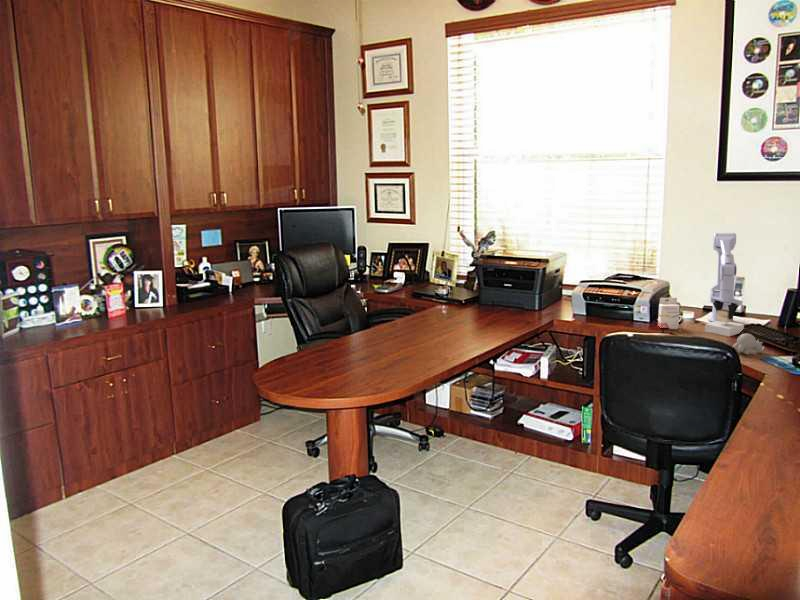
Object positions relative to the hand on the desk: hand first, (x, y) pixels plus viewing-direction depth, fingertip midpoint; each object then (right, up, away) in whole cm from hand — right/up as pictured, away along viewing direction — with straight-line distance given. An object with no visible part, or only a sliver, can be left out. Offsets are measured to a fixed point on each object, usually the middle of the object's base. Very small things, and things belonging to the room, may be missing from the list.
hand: (725, 317), depth 314 cm
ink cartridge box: (-22, -5, +12) cm, 26 cm away
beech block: (0, -1, 0) cm, 2 cm away
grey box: (0, -7, +2) cm, 7 cm away
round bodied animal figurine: (-5, -14, -32) cm, 35 cm away
